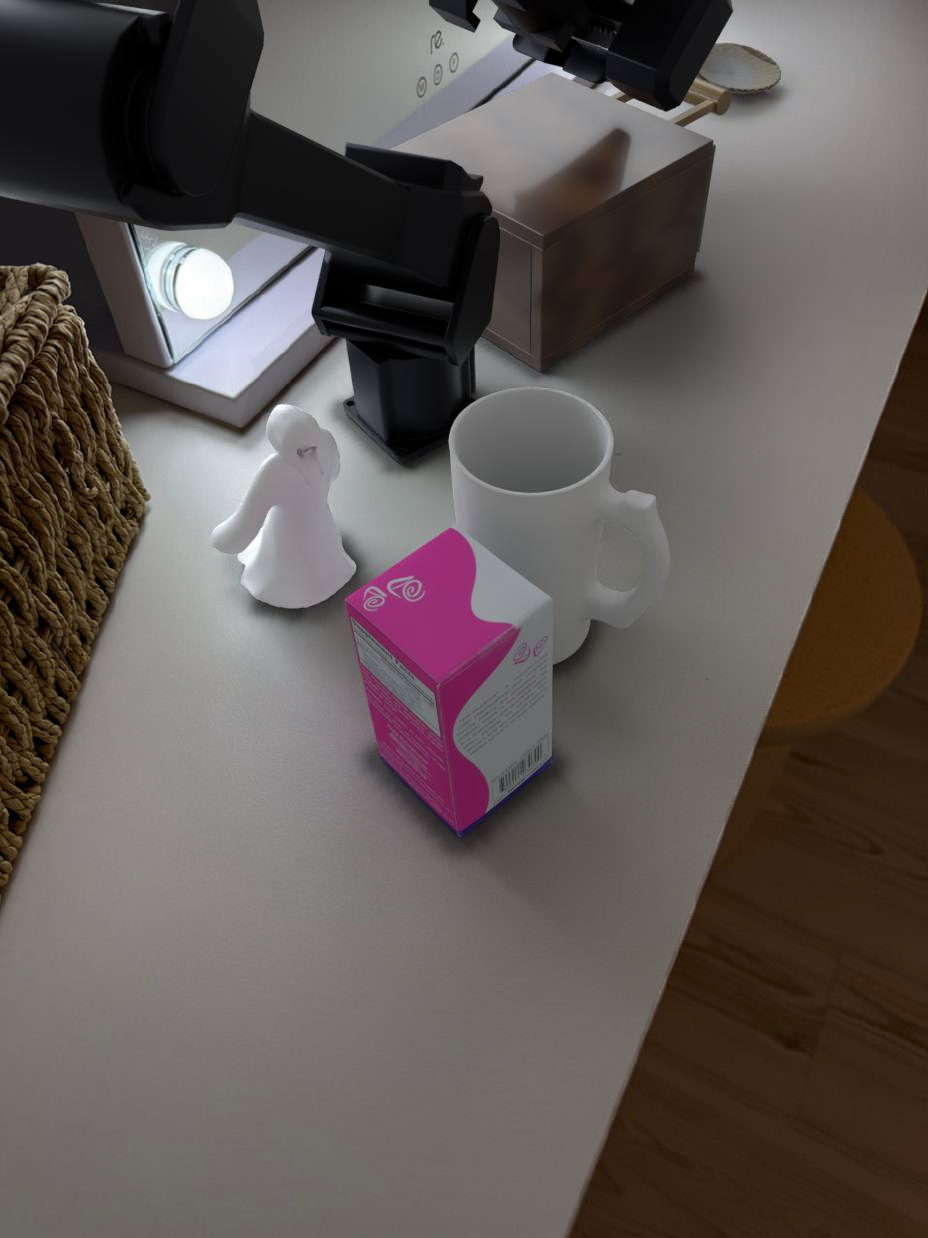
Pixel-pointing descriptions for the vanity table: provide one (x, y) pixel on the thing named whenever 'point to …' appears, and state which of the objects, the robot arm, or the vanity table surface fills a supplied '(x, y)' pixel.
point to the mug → (552, 504)
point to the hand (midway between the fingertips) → (629, 74)
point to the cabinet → (577, 209)
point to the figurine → (290, 517)
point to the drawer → (698, 116)
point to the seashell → (740, 69)
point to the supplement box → (457, 675)
